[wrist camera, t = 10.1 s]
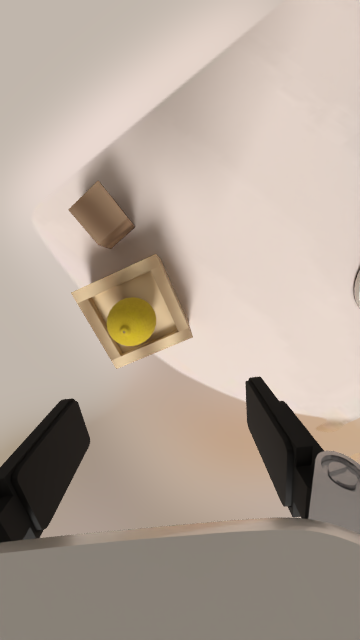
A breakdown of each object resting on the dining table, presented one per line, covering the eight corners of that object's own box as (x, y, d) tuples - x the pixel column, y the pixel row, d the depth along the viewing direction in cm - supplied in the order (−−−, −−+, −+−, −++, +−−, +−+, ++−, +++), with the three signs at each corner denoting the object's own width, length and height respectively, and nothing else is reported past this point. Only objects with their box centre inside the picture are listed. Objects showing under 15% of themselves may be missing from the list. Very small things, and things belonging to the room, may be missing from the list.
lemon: (112, 302, 25) (84, 316, 17) (149, 287, 25) (138, 295, 17) (129, 337, 27) (111, 365, 19) (164, 323, 26) (161, 346, 18)
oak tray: (159, 257, 28) (156, 253, 22) (189, 324, 32) (192, 337, 26) (91, 288, 29) (71, 292, 23) (126, 350, 32) (116, 368, 26)
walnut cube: (111, 197, 26) (98, 180, 21) (135, 227, 27) (127, 217, 23) (87, 220, 27) (68, 209, 22) (111, 249, 28) (98, 244, 23)
